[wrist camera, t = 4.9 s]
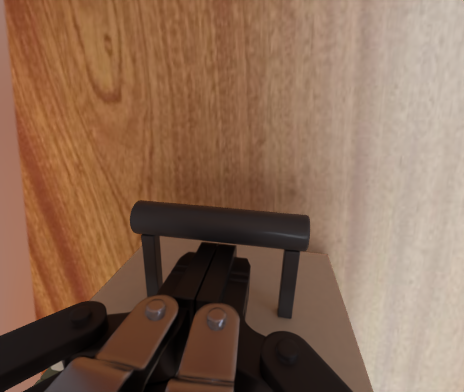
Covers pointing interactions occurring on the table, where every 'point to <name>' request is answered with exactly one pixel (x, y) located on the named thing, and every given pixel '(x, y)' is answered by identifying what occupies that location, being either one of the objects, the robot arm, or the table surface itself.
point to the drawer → (261, 275)
